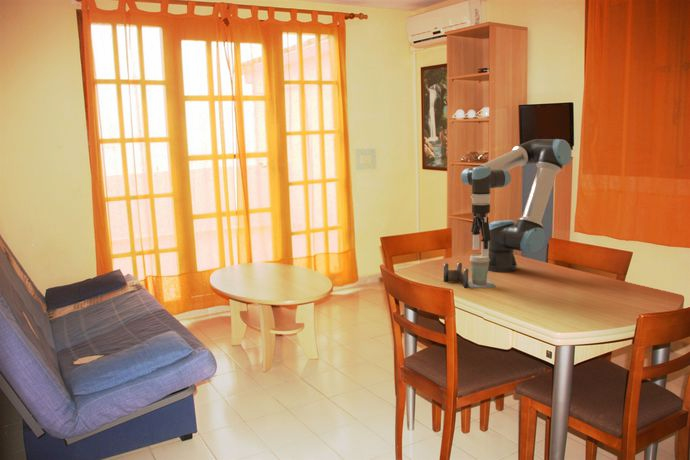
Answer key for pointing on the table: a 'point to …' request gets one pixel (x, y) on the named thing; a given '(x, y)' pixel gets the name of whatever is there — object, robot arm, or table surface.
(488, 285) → the coaster
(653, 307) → the table surface
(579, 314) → the table surface
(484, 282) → the coffee cup
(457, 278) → the rail
